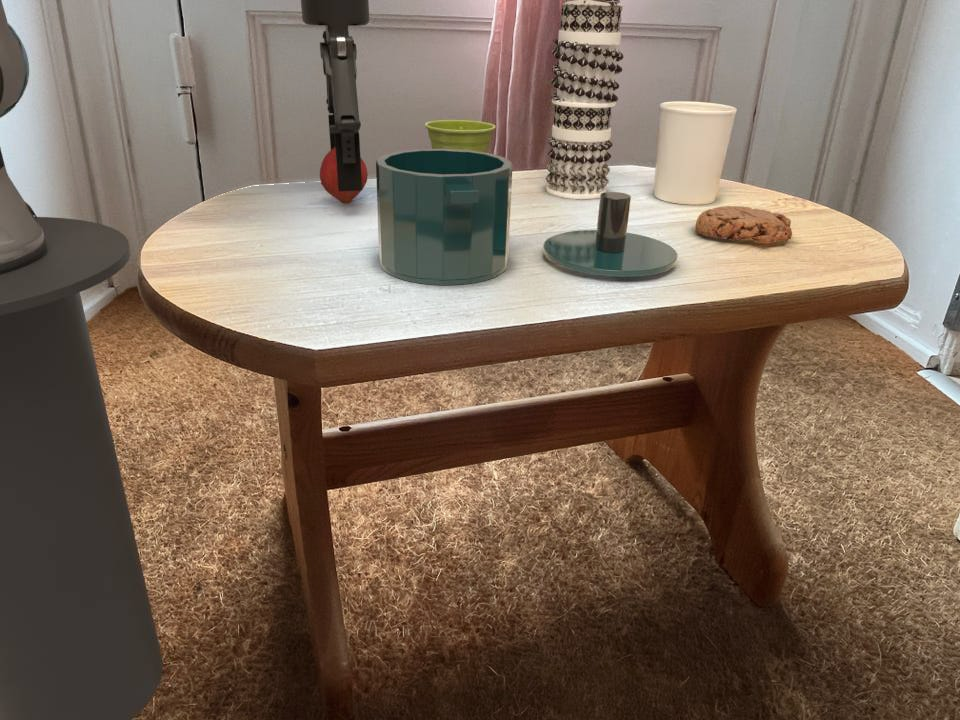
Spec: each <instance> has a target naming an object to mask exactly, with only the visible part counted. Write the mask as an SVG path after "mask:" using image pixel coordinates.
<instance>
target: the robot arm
mask: <svg viewBox="0 0 960 720" xmlns="http://www.w3.org/2000/svg"><path fill="white" fill-rule="evenodd" d="M369 4H370V3H369V0H300V10H301V19H302V22H303V23H304V24H305V25H308V26H325V30H323V33H322V39H323V41H320V42H319V53H320V58H321V60H322V69H323V75H324V76H325V82H326V99H325V103H326V105H327V111H328V117H327V118H328V132H329V133H328V134H329V144H330V145H329V146H330V151H331V150H332V149H333V148H336V163H337V177H338V190H339V191H361V192H362V191H363V190H362V176H361V158H362V157H361V142H360V141H361V140H360V130H361V127H362V123H361V121H360V113H359V112H360V111H359V102H358V101H359V100H358V92H357V75H358V73H357V71H358V70H357V63H356V61H357V53H358V52H357V43H355V39H354V38H353V36H352V35H350V33H349V27H359V26H360V27H361V26H363V27H364V26H367V25H368V24H369V23H370V6H369ZM29 78H30V62H29V57H28V53H27V51H26V48H25V45H24V43H23V42H22V40H21V37H20V36H19V35H18V34H17V32H16V30H15V29H14V28H13V26H11V24H10V23H9V22H8V19H7V15H6V12H5V8H4V4H3V1H2V0H0V119H1V118H3V117H4V116H6V115H7V114H8V113H10V112H11V111H12V110H13V109H14V108H15V107H16V105H17V104H18V103H19V102H20V100H21V99H22V97H23V96H24V94H25V91H26V89H27V87H28V84H29V80H30V79H29ZM360 157H361V158H360ZM35 217H36V218H37V217H38V216H37V214H36V213H35V211H34V210H33V208H32V207H31V205H29V203H28V202H26V201H25V200H24V197H22V195H21V193H20V191H19V190H18V189H17V187H16V185H15V184H14V183H13V181H12V179H11V178H10V176H9V173H8V171H7V167H6V164H5V161H4V157H3V153H2V148H1V147H0V274H3V273H7V272H10V271H13V270H16V269H19V268H22V267H24V266H27V265H29V264H31V263H33V262H35V261H37V260H38V259H40V258H41V257H42V256H43V255H45V253H46V252H47V245H46V241H45V237H44V233H43V229H42V228H41V227H40V225H39V223H38V222H37V220H36V218H35ZM37 219H38V218H37ZM38 220H39V219H38Z"/></svg>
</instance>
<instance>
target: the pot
mask: <svg viewBox="0 0 960 720" xmlns="http://www.w3.org/2000/svg"><path fill="white" fill-rule="evenodd" d="M513 165H514V163H513V162H512V161H511V160H509V159H508V158H506V157H505V156H501V155H497V154H493V153H490V152H487V153H484V152H477V151H470V150H455V149H432V148H419V149H410V150H409V149H408V150H398V151H394V152H390V153H386V154H383V155H381V156H380V157H378V158H376V159H375V167H376V168H375V171H376V172H375V174H376V175H375V177H376V204H377V205H376V207H377V209H376V210H377V234H378V235H377V236H378V238H377V239H378V257H379V264H380V265H379V266H380V268H381V269H382V270H383V271H384V272H385V273H386V274H388V275H389V276H392V277H395V278H397V279H400V280H403V281H407V282H412V283H416V284H423V285H432V286H433V285H435V286H455V285H456V286H459V285H468V284H475V283H476V284H477V283H480V282H484V281H488V280H491V279H494V278H496V277H498V276H500V275H501V274H503V273H504V272H505V271H506V269H507V267H508V261H509V249H510V229H511V228H510V227H511V207H512V206H511V205H512V187H513V186H512V185H513V167H514V166H513Z"/></svg>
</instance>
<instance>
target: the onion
mask: <svg viewBox="0 0 960 720" xmlns="http://www.w3.org/2000/svg"><path fill="white" fill-rule="evenodd" d="M360 158H361V176H362V191H363V190H364V188H365V186H366V184H367V183H368V169H367V166H366V163H365V161H364V159H362V156H360ZM319 180H320V184H321V186H322V188H323V189H324V190H325V191H326V192H327V193H328V194H329V195H330V196H332V197H333V198H334V199H335V200H337V201H339V202H340V203H341V204H343V205H349V204H351V203H352V201H353V200H354V199H355V198H356V197H357V196H359V194H361V192H362V191H339V190H338V177H337V163H336V148H333V149H332V150H331V149H330V150H329V151H328V152H327V154H325V156H324V158H322V161H321V164H320V169H319Z"/></svg>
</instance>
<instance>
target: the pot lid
mask: <svg viewBox="0 0 960 720" xmlns="http://www.w3.org/2000/svg"><path fill="white" fill-rule="evenodd" d="M631 201H632V196H631V195H630V194H628V193H624V192H620V191H619V192H618V191H607V192H605V193H602V194H601V195H600V198H599V204H598V205H599V206H598V213H597V215H598V216H597V225H596V229H584V230H583V229H582V230H572V231H566V232H561V233H557V234H555V235H552V236H549V237H548V238H547V239H546V240H545V241H544V243H543V245H542V246H543V247H542V252H543V255H544V256H545V257H546V258H547V259H548V261H550V262H552V263H554V264H556V265H558V266H560V267H563V268H565V269H569V270H572V271H575V272H580V273H584V274H590V275H598V276H606V277H617V278H618V277H622V278H623V277H625V278H626V277H627V278H629V277H631V278H632V277H646V276H652V275H653V276H654V275H657V274H661V273H665V272H668V271H669V270H671V269H673V268H674V267H675V266H676V264H677V262H678V252H677V250H676V249H675V248H674V247H672V246H670V245H669V244H667V243H666V242H664V241H661V240H659V239H656V238H653V237H650V236H646V235H642V234H637V233H633V232H628V224H629V217H630V215H629V214H630V210H631V209H630V208H631Z"/></svg>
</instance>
